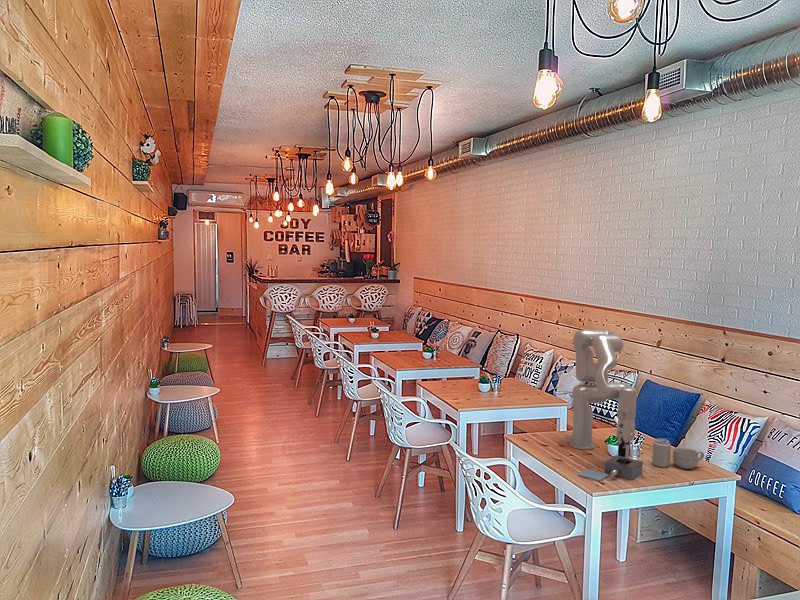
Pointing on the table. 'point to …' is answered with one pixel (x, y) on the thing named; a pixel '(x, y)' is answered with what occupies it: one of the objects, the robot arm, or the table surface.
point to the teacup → (686, 457)
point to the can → (661, 453)
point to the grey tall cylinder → (625, 459)
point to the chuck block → (623, 468)
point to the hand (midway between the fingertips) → (623, 454)
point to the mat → (593, 475)
